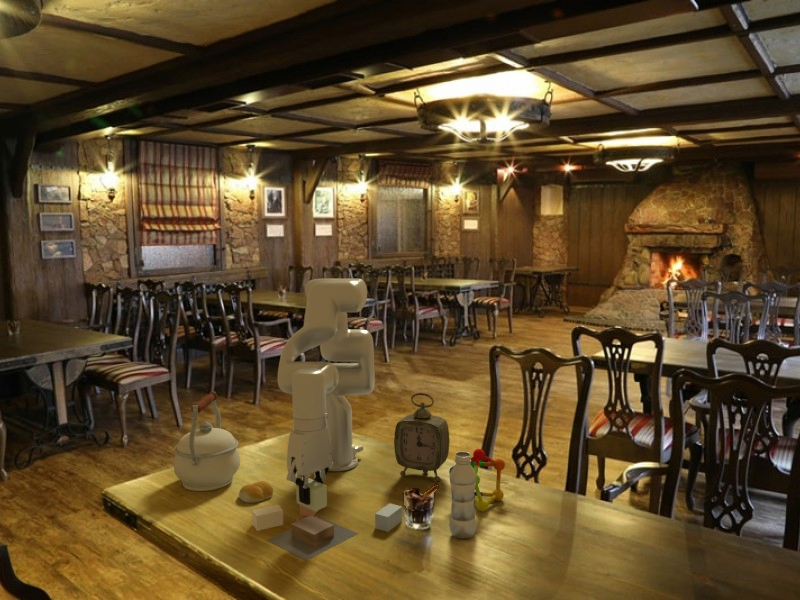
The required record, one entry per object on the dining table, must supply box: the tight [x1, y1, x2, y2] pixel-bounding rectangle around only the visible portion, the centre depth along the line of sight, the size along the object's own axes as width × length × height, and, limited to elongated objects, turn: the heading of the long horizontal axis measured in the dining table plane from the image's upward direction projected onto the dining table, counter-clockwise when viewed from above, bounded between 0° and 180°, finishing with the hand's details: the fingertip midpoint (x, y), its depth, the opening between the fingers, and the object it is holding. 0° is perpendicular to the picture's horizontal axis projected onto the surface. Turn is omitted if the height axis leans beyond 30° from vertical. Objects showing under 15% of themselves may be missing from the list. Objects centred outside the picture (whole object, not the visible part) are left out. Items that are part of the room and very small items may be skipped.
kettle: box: [173, 391, 241, 492], centre depth 184 cm, size 25×18×25 cm
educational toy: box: [448, 448, 506, 512], centre depth 168 cm, size 16×13×15 cm
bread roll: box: [238, 481, 274, 504], centre depth 174 cm, size 8×9×4 cm
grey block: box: [374, 502, 403, 533], centre depth 154 cm, size 6×4×5 cm, turn 149°
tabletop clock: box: [393, 392, 451, 483], centre depth 186 cm, size 14×9×25 cm, turn 67°
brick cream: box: [251, 504, 284, 532], centre depth 155 cm, size 6×4×5 cm, turn 119°
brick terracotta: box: [299, 504, 319, 517], centre depth 162 cm, size 6×4×5 cm, turn 169°
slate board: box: [266, 515, 359, 562], centre depth 149 cm, size 16×14×1 cm
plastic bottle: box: [448, 451, 478, 540], centre depth 150 cm, size 6×7×20 cm
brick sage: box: [295, 478, 328, 512], centre depth 147 cm, size 6×4×5 cm, turn 49°
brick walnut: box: [291, 515, 334, 547], centre depth 148 cm, size 6×8×3 cm
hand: (311, 499), depth 147 cm, fingers closed on brick sage, 3 cm apart
